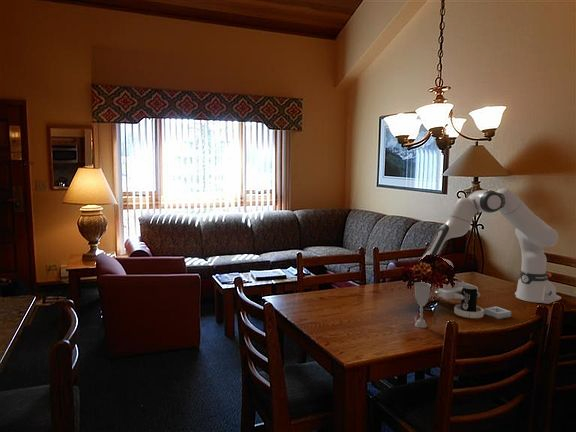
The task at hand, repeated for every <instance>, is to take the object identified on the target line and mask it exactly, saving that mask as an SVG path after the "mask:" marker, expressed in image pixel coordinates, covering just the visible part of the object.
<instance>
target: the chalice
mask: <svg viewBox="0 0 576 432" xmlns="http://www.w3.org/2000/svg"><path fill="white" fill-rule="evenodd" d="M413 285H414V297H415V301H416V303H417V304H418V306H420V308H419V312H420V313H418V314H419V318H418V319H417V320H416V321H415V324H414V326H415V327H417V328H427V327H428V325H427V323H426V322H427V321H425V319H424V317H423V316H424V314H423V312H424V308H423V307H424V306H426V304H427V303H428V301H429V299H430V296H431V295H430V294H431V292H430V287H431V284H429V283H425V282H422V281H417V282H414V283H413Z"/></svg>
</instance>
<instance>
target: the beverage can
mask: <svg viewBox="0 0 576 432" xmlns="http://www.w3.org/2000/svg"><path fill="white" fill-rule="evenodd" d="M475 286H476V285H473V286H470V285H465V286H463V288H462V295H465V299H460V302H461V303H460V304H461V310H463V311H468V312H476V307H477V306H478V305H477V304H478V297H477V289H476V287H477V286H476V287H475Z"/></svg>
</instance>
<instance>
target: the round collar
mask: <svg viewBox="0 0 576 432" xmlns="http://www.w3.org/2000/svg"><path fill="white" fill-rule="evenodd" d="M453 309H454V310H453V313H454V314H455V315H457V316H459V317H463V318H466V319H467V318H468V319H480V318H481V319H482V318H483V317H484V316H485V314H484V307H481V306H478V305H477V307H476V312H468V311H463V310H461V303H459V304H455V306H454V307H453Z"/></svg>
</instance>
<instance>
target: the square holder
mask: <svg viewBox="0 0 576 432" xmlns="http://www.w3.org/2000/svg"><path fill="white" fill-rule="evenodd" d="M483 309H484V316H489V317H490V318H494V319H497V320H502V319H507V318H510V317H512V311H511V310H508V309H505V308H502V307H499V306H496V305H495V306H490V307H485V308H484V307H483Z"/></svg>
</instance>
